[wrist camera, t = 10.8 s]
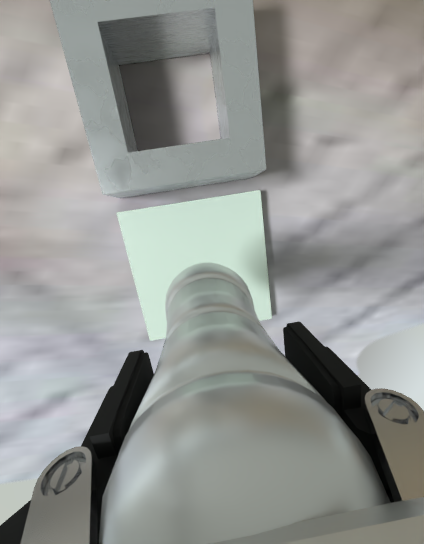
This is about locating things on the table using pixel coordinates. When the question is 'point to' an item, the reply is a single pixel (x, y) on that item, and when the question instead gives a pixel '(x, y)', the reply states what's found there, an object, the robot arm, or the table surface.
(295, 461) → the plastic bottle
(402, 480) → the robot arm
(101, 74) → the bore block
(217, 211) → the pad
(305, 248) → the table surface
